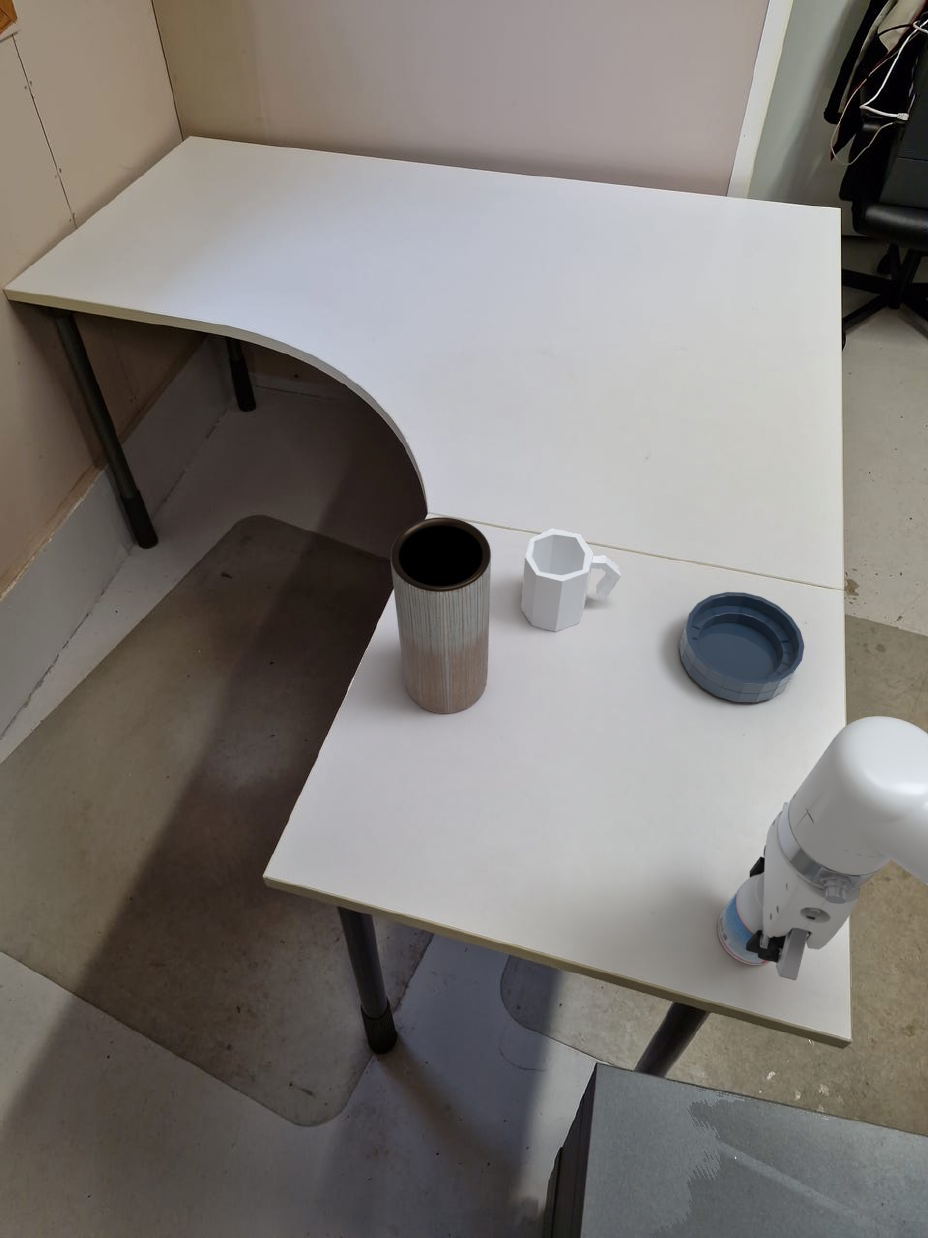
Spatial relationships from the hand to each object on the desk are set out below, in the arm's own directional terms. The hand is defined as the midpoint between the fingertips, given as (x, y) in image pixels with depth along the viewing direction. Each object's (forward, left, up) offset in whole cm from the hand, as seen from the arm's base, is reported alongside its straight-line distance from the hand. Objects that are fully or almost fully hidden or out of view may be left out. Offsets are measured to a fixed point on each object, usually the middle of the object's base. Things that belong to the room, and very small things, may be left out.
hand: (765, 914), depth 76 cm
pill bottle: (0, 0, -6) cm, 6 cm away
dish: (-14, -30, -6) cm, 34 cm away
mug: (+3, -44, -6) cm, 45 cm away
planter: (+21, -37, -6) cm, 43 cm away
